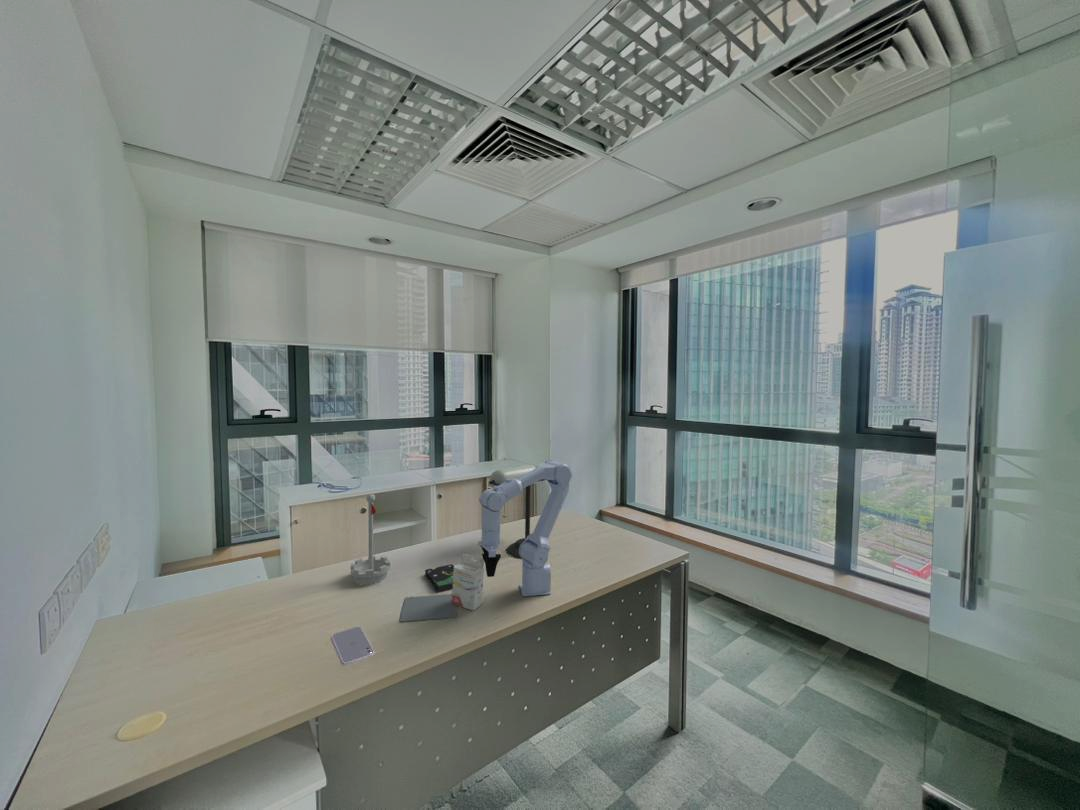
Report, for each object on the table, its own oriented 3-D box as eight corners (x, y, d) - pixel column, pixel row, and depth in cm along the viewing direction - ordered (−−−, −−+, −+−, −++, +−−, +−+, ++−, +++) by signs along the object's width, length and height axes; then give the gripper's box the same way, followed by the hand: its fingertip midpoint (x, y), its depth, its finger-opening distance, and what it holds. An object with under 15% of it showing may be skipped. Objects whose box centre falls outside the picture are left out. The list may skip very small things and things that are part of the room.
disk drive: (424, 577, 153) (437, 594, 141) (424, 569, 153) (438, 585, 140) (451, 571, 159) (467, 586, 146) (451, 563, 159) (467, 578, 146)
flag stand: (345, 576, 151) (345, 493, 150) (382, 566, 160) (382, 487, 158) (357, 590, 141) (357, 501, 140) (396, 579, 150) (396, 495, 149)
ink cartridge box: (450, 603, 133) (453, 557, 132) (460, 597, 137) (462, 552, 137) (473, 611, 129) (476, 563, 129) (482, 604, 134) (485, 558, 133)
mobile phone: (360, 624, 120) (375, 652, 108) (360, 628, 120) (375, 655, 108) (330, 633, 116) (343, 663, 104) (330, 637, 116) (343, 667, 104)
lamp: (527, 533, 198) (528, 461, 196) (564, 548, 180) (566, 469, 178) (479, 547, 180) (480, 468, 178) (516, 566, 162) (517, 478, 161)
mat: (456, 594, 140) (456, 593, 140) (456, 617, 126) (456, 616, 126) (405, 598, 137) (405, 597, 136) (399, 622, 123) (399, 621, 123)
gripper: (477, 521, 140) (475, 562, 141) (479, 536, 126) (477, 581, 126) (498, 520, 141) (497, 561, 142) (503, 535, 127) (501, 580, 128)
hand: (489, 570), depth 134 cm, fingers open, 7 cm apart
